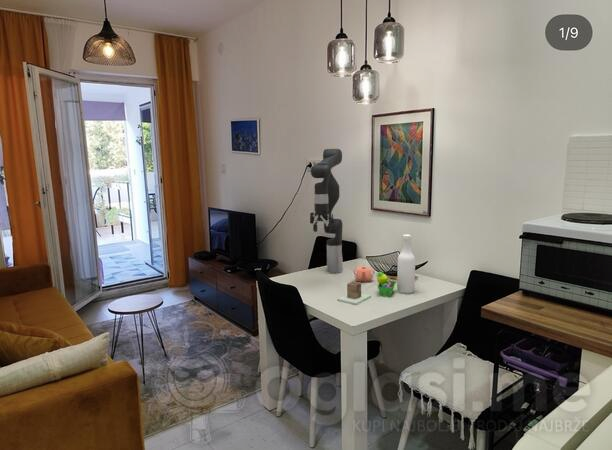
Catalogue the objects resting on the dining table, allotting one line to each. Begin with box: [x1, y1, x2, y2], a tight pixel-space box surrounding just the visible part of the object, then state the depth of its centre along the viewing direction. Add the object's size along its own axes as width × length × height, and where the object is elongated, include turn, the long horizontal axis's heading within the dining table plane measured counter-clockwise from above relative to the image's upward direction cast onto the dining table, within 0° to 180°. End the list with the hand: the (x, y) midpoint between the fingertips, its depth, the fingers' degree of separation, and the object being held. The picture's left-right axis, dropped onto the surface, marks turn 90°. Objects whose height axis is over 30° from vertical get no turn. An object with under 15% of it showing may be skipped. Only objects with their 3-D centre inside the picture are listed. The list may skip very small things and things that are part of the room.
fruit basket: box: [376, 271, 396, 297], centre depth 211 cm, size 11×9×11 cm
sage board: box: [336, 292, 372, 306], centre depth 204 cm, size 14×11×1 cm
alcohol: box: [396, 233, 416, 295], centre depth 212 cm, size 9×9×30 cm
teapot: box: [353, 264, 375, 283], centre depth 234 cm, size 12×15×8 cm
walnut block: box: [346, 281, 362, 299], centre depth 203 cm, size 5×5×7 cm
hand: (321, 232), depth 222 cm, fingers open, 8 cm apart
